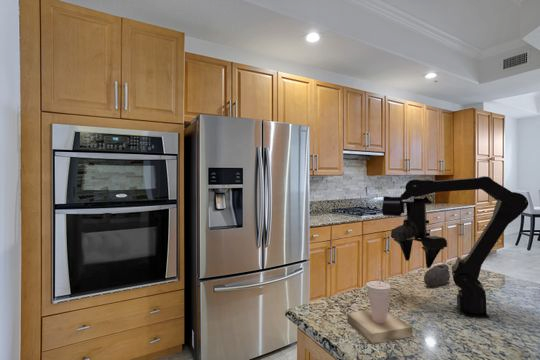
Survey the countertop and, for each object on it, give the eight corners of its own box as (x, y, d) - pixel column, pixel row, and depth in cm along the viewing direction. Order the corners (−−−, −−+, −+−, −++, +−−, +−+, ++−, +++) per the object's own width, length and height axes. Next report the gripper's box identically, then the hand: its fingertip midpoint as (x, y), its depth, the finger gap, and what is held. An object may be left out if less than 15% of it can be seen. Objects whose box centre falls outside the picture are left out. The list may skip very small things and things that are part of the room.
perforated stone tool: (431, 290, 105) (431, 271, 105) (418, 286, 110) (417, 268, 110) (454, 283, 112) (453, 265, 112) (440, 279, 117) (440, 262, 117)
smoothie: (397, 324, 75) (395, 271, 76) (375, 327, 74) (373, 273, 74) (382, 313, 82) (381, 264, 82) (362, 316, 80) (361, 266, 81)
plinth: (383, 316, 86) (382, 307, 86) (412, 336, 74) (412, 326, 74) (347, 321, 82) (347, 313, 83) (372, 344, 71) (372, 333, 71)
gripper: (377, 215, 101) (378, 259, 101) (417, 221, 83) (418, 275, 83) (403, 213, 104) (405, 256, 104) (447, 219, 86) (449, 271, 86)
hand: (417, 264), depth 94 cm, fingers open, 9 cm apart
